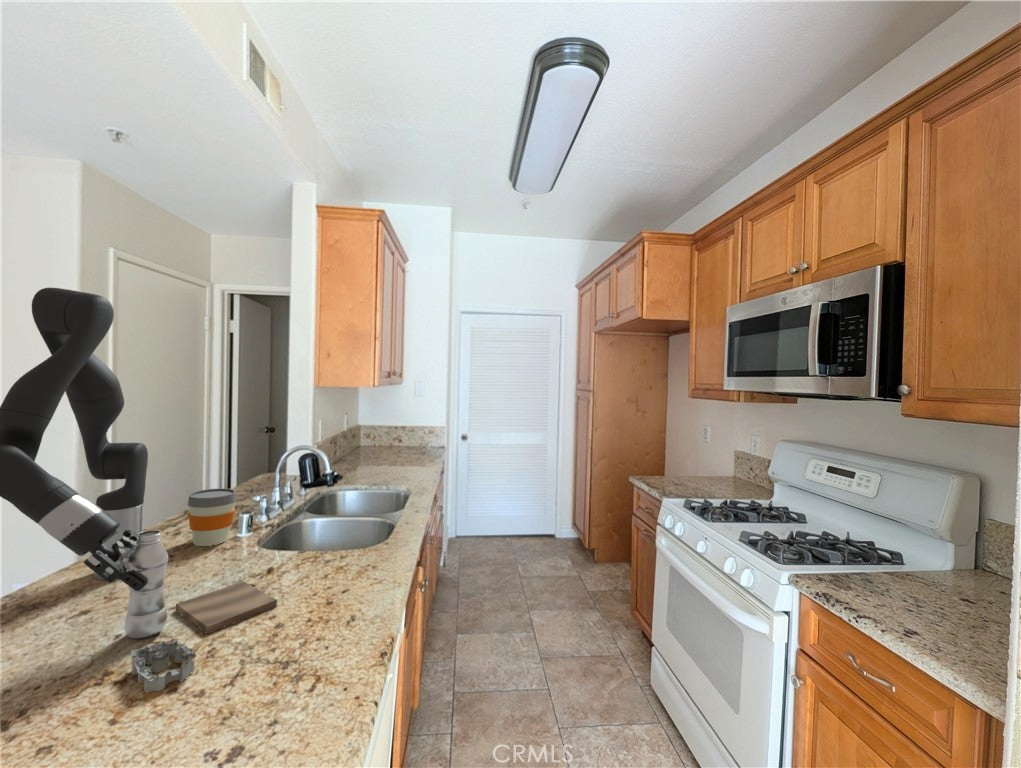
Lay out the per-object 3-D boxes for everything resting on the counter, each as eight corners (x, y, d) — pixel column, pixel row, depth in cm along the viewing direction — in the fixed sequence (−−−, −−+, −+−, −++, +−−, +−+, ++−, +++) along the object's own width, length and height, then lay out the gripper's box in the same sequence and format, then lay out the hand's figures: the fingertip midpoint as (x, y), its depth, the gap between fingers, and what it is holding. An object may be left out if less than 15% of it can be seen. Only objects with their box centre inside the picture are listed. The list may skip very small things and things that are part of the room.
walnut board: (175, 610, 97) (175, 603, 97) (243, 587, 108) (243, 581, 108) (207, 634, 88) (207, 626, 88) (276, 606, 100) (276, 599, 100)
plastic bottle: (143, 645, 84) (147, 540, 84) (114, 640, 85) (118, 536, 85) (175, 627, 90) (178, 529, 90) (147, 622, 92) (151, 526, 92)
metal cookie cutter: (197, 677, 76) (198, 654, 76) (142, 700, 71) (143, 674, 71) (180, 651, 83) (181, 629, 83) (127, 670, 77) (128, 646, 77)
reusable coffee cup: (201, 534, 143) (203, 487, 143) (242, 534, 144) (244, 488, 144) (176, 549, 130) (178, 498, 130) (221, 549, 131) (223, 498, 131)
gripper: (78, 520, 78) (155, 577, 82) (116, 499, 91) (180, 549, 96) (37, 553, 76) (119, 610, 80) (82, 527, 89) (149, 577, 94)
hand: (152, 577), depth 88 cm, fingers open, 8 cm apart
